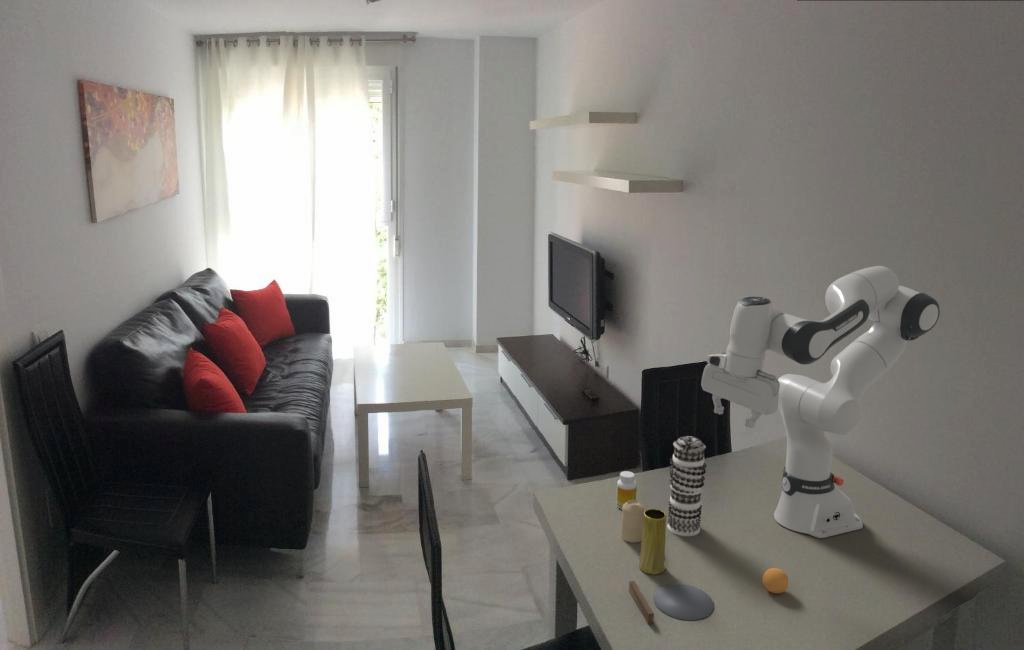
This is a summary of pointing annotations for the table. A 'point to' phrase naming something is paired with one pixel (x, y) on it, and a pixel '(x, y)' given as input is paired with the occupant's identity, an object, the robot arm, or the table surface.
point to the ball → (775, 580)
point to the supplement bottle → (626, 488)
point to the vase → (653, 542)
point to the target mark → (683, 602)
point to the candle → (632, 521)
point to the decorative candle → (686, 486)
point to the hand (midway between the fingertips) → (733, 419)
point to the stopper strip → (641, 602)
